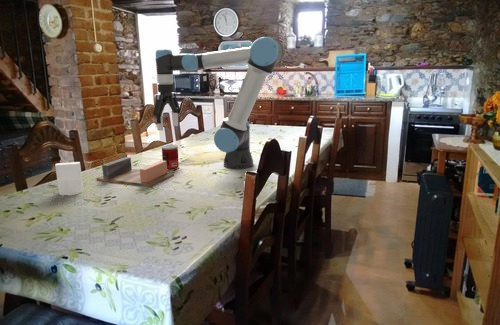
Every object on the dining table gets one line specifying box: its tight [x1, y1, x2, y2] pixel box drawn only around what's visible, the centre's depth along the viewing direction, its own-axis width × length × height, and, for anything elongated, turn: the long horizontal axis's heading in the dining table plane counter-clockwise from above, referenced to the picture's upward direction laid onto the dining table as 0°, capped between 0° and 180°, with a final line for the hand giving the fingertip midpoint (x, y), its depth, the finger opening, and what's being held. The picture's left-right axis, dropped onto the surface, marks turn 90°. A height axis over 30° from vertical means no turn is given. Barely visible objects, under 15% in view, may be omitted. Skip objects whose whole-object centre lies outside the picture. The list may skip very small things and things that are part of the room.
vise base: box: [96, 156, 175, 188], centre depth 170 cm, size 29×18×7 cm, turn 70°
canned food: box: [161, 144, 180, 171], centre depth 185 cm, size 8×8×11 cm
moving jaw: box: [139, 159, 168, 183], centre depth 166 cm, size 3×16×6 cm, turn 160°
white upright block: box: [54, 161, 84, 196], centre depth 151 cm, size 9×9×12 cm
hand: (168, 128), depth 182 cm, fingers open, 13 cm apart
